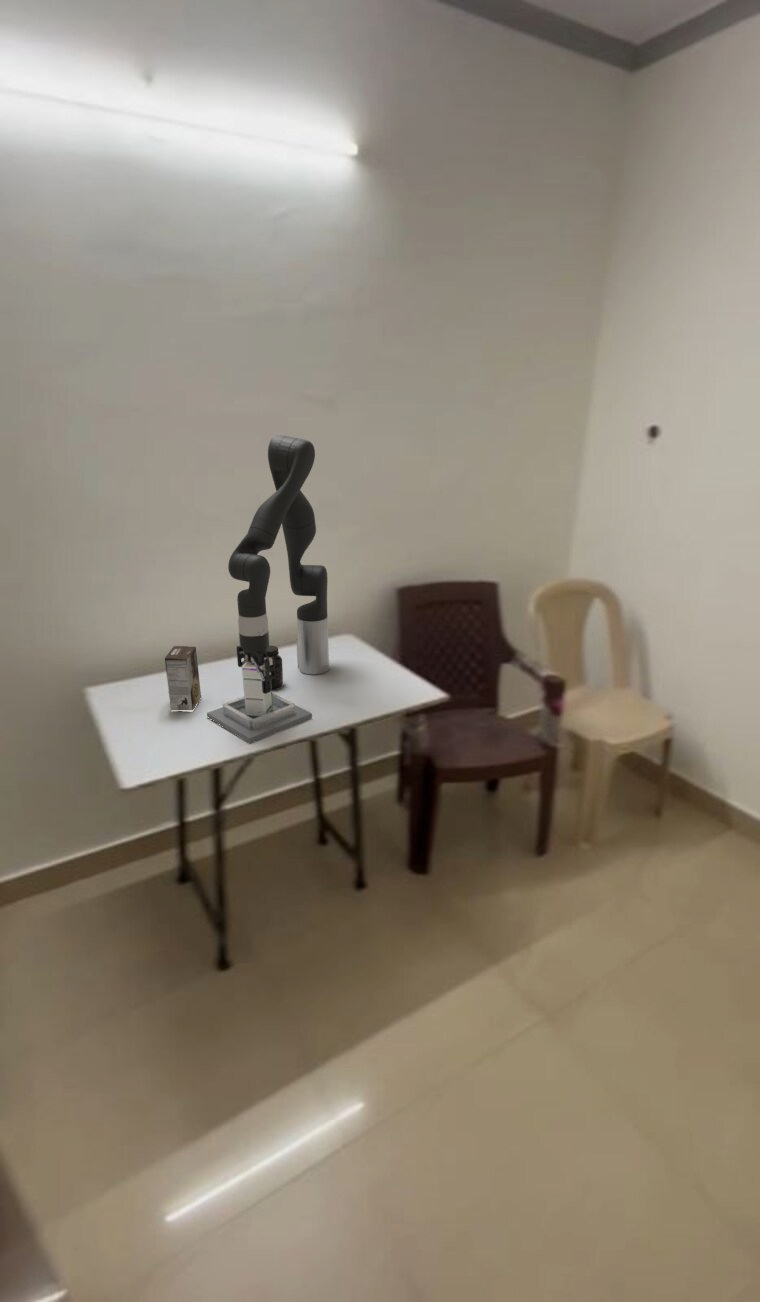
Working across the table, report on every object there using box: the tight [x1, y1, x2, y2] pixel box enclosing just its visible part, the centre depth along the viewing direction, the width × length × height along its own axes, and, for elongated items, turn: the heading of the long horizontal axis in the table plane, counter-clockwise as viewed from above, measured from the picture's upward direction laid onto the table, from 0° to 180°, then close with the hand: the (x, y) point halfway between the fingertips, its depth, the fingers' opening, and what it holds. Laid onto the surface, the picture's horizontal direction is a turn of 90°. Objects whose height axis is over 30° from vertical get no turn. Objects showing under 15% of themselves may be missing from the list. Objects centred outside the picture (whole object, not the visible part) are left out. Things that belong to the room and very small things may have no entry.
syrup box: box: [241, 662, 273, 716], centre depth 193 cm, size 6×6×14 cm
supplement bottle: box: [266, 645, 284, 691], centre depth 213 cm, size 7×7×12 cm
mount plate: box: [206, 704, 313, 744], centre depth 196 cm, size 20×20×2 cm
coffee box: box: [164, 645, 202, 711], centre depth 200 cm, size 9×6×16 cm
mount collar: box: [222, 692, 296, 730], centre depth 195 cm, size 14×14×2 cm
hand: (257, 687), depth 193 cm, fingers closed on syrup box, 7 cm apart
